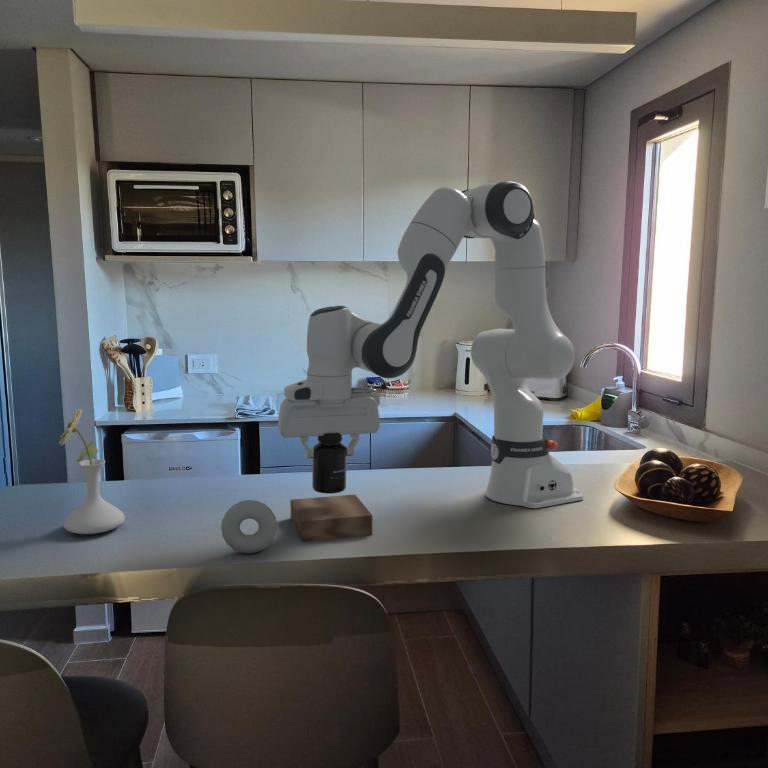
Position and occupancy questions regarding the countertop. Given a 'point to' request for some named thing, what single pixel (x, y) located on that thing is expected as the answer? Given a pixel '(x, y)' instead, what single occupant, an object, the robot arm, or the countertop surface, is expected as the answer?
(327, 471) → the supplement bottle
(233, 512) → the donut
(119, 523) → the flower in vase
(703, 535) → the countertop surface
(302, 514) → the walnut base
